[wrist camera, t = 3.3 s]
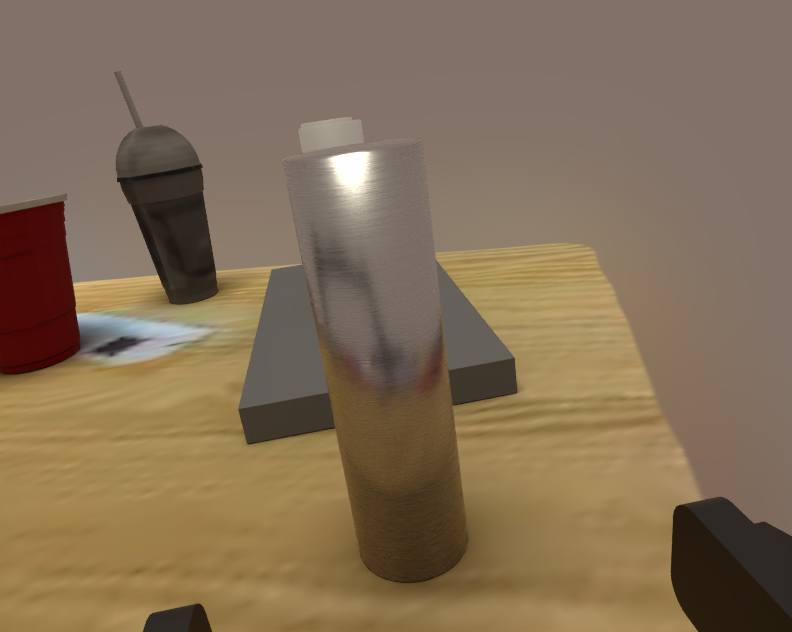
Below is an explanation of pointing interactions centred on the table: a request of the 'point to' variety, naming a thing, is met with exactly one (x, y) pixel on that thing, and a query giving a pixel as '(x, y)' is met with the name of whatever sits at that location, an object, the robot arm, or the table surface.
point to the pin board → (299, 350)
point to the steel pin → (383, 349)
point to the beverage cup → (168, 206)
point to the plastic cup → (35, 286)
